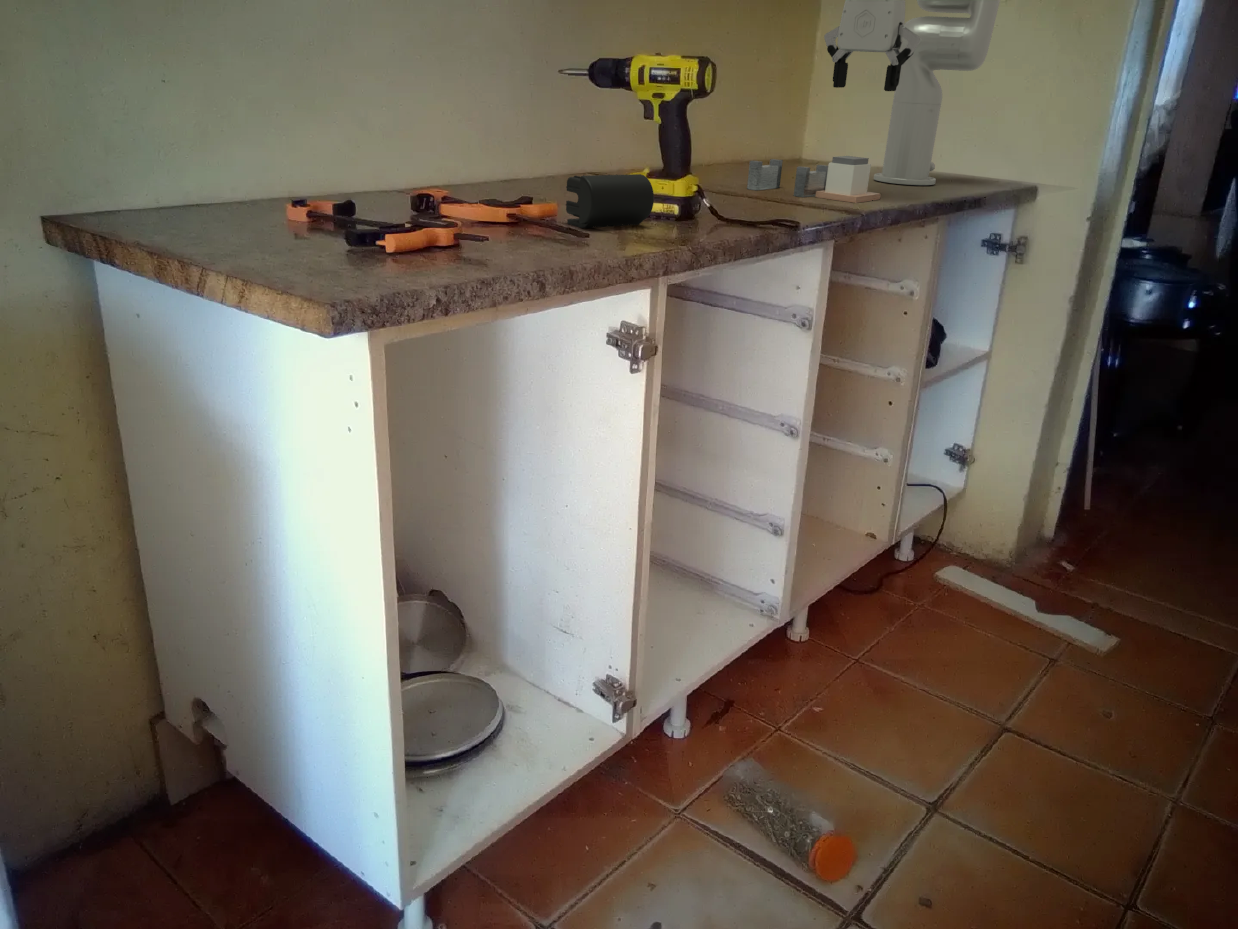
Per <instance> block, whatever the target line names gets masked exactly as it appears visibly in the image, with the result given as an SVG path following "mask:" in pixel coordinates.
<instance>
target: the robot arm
mask: <svg viewBox="0 0 1238 929" xmlns="http://www.w3.org/2000/svg"><path fill="white" fill-rule="evenodd" d="M916 2H917V6H918V7H919V8H920V9H921V10H923V11H926V12H932V13H943V14H944V13H946V14H947V13H948V14H969V15H970V16H969V17H961V16H960V17H954V16H951V17H950V16H933V15H932V16H918V17H913V18H910V19H909V20H905V19H906V0H845V1H844V3H843V5H844V6H843V9H842V13H841V18H840V23H839V25H838V26H837V27H835V28H833V29H832V30H829V31H828V32H826V33H825V34H824V36H823V38H824V42H825V45H826V48H827V50H826V51H827V53H828V55H829V56H830V57H831V60H832V62H833V63H834V67H833V75H832V82H833V84H832V87H833V88H836V89H837V88H838V89H839V88H841V89H842V88H846V83H847V77H848V68H849V63H848V62H846V61H847V60H848V58H849V57H850V56H851V55H852V54H853V53H854V52H859V53H860V52H862V53H864V52H865V53H885V55H886V56H887V58H888V60H889V62H890V65H889V64H888V65H887V67H886V73H885V79H884V80H885V81H884V88H883V91H885V92H894V95H893V100H892V105H891V112H890V119H889V124H888V132H887V139H886V145H885V152H884V158H883V163H882V164H883V165H882V172H878V173H874V175H873V180H874V181H877V182H880V183H881V182H882V183H889V184H897V185H908V186H934V185H935V184H936V178H935V177H932V176H930V172H933V171H934V170H935V168H936V164H935V163H934V162H933V161H932V158H933V154H934V149H935V148H934V147H935V141H936V135H937V129H938V124H939V118H940V114H941V113H940V112H941V107H942V101H943V90H942V87H941V84H940V82H939V80H938V79H937V77H936V75H935V72H934V71H940V70H941V71H964V72H965V71H966V72H968V71H975V70H978V69H979V68H980V67H982V65H983V64H984V62H985V61H986V58H987V55H988V52H989V49H990V46H991V40H992V35H993V31H994V28H995V23H996V19H997V15H998V11H999V6H1000V2H1001V0H916ZM905 21H906V22H905ZM836 39H837V42H836Z"/></svg>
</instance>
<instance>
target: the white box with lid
mask: <svg viewBox="0 0 1238 929" xmlns="http://www.w3.org/2000/svg"><path fill="white" fill-rule="evenodd" d="M827 166H828V173H827V180H826V188H825V192H828V193H835V194H842V195H849V196H851V195H859V194H866V193H867V192H868V187H869V180H870V174H871V168H872V164H871V163H869V157H861V156H853V155H842V156H841V155H839V156H832V161H831V162H828V165H827Z"/></svg>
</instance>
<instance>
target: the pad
mask: <svg viewBox="0 0 1238 929" xmlns="http://www.w3.org/2000/svg"><path fill="white" fill-rule="evenodd" d="M881 195H882V194H881V193H877V192H871V191H867V193H866V194H859V195H851V196H849V195H842V194H835V193H828V192H825V190H823V191H816V196H815V198H817V199H818V198H820V199H825V200H833V201H838V202H839V201H840V202H846V203H853V204H859V203H863V202H864V203H865V202H871V201H872V200H873V201H877V200H878V201H879V199H881Z"/></svg>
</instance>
